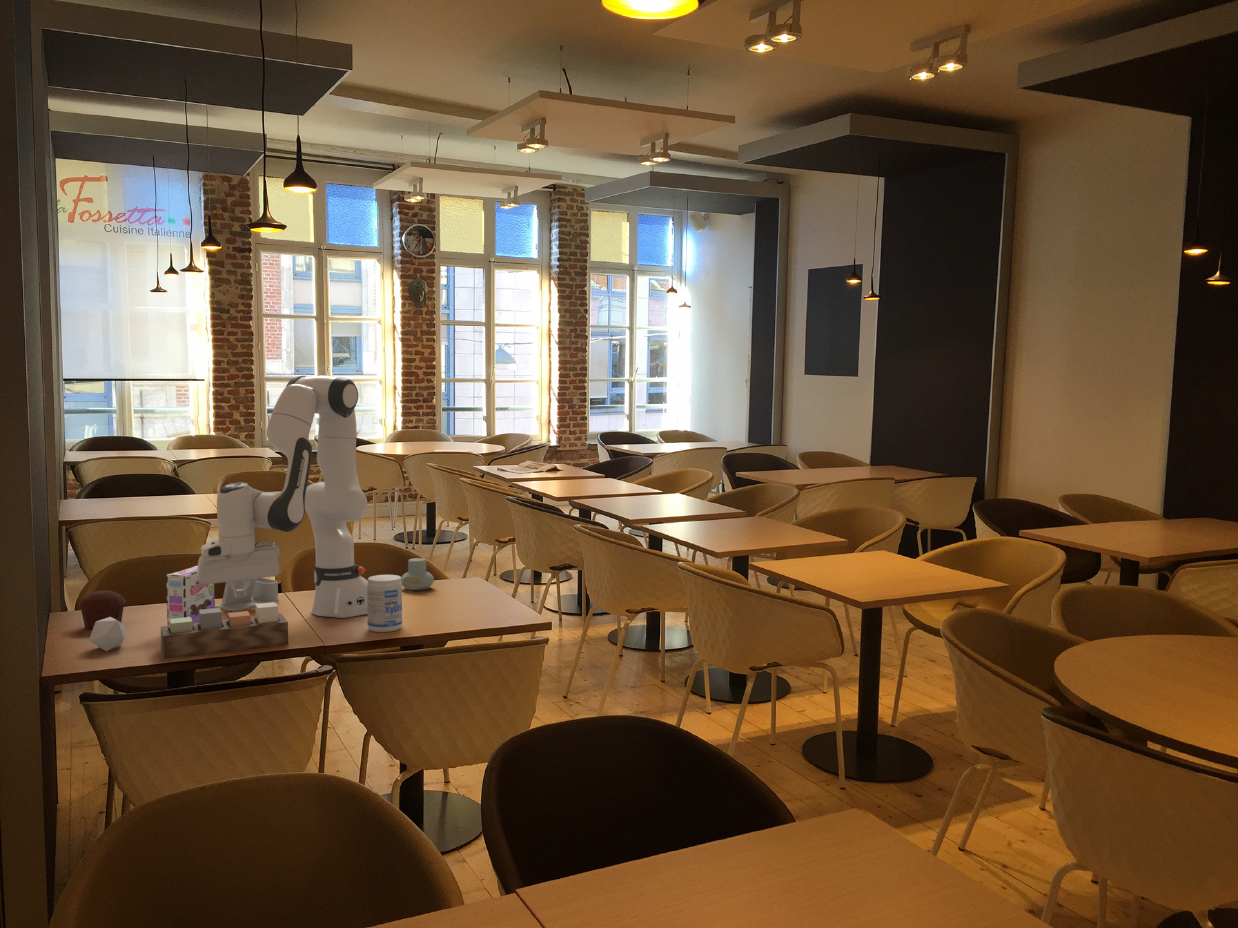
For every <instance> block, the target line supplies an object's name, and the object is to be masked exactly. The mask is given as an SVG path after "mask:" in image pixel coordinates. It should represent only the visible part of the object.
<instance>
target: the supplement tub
mask: <svg viewBox="0 0 1238 928" xmlns="http://www.w3.org/2000/svg"><path fill="white" fill-rule="evenodd" d="M401 577H402V576H400V575H396V574H377V575H371V576H369V577H368V578H367V581H368V583H367V584H368V585H367V597H368V614H367V628H368V630H369V631H371V632H376V633H389V632H395V631H398V630H400V629H401V628H402V627H403V586H402V581H401Z"/></svg>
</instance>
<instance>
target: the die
mask: <svg viewBox="0 0 1238 928" xmlns="http://www.w3.org/2000/svg"><path fill="white" fill-rule="evenodd" d="M127 631H128V626H126V625H125V624H124V623H122V621H121V622H119V621H118V620H116V619H114V618H112V617H108V618H105V619H102V620H99V621H96V622H95V625H94V627H93V630H91V633H90V636H89V639H88V642H89V643H92V644H93V645H94V646H96V647H97V648H100V649H101V650H103V651H105V652H109V651H112V650H115V649H117V648H120V647H121V646H122V645H123V643H124V639H125V638H126V634H127Z"/></svg>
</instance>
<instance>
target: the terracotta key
mask: <svg viewBox="0 0 1238 928" xmlns="http://www.w3.org/2000/svg"><path fill="white" fill-rule="evenodd" d="M250 617H251V614H250V612H249V610H245V611H243V610H242V611H232V612H227V619H228V627H231V626H240V625H249V624H251V618H250Z"/></svg>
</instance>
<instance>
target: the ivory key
mask: <svg viewBox="0 0 1238 928" xmlns="http://www.w3.org/2000/svg"><path fill="white" fill-rule="evenodd" d="M255 605H256V607H255V616H256V623H257V624H258V623H267V622H276V621H278V614H279V605H278V604H277V602H271V603H261V604H255Z"/></svg>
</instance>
